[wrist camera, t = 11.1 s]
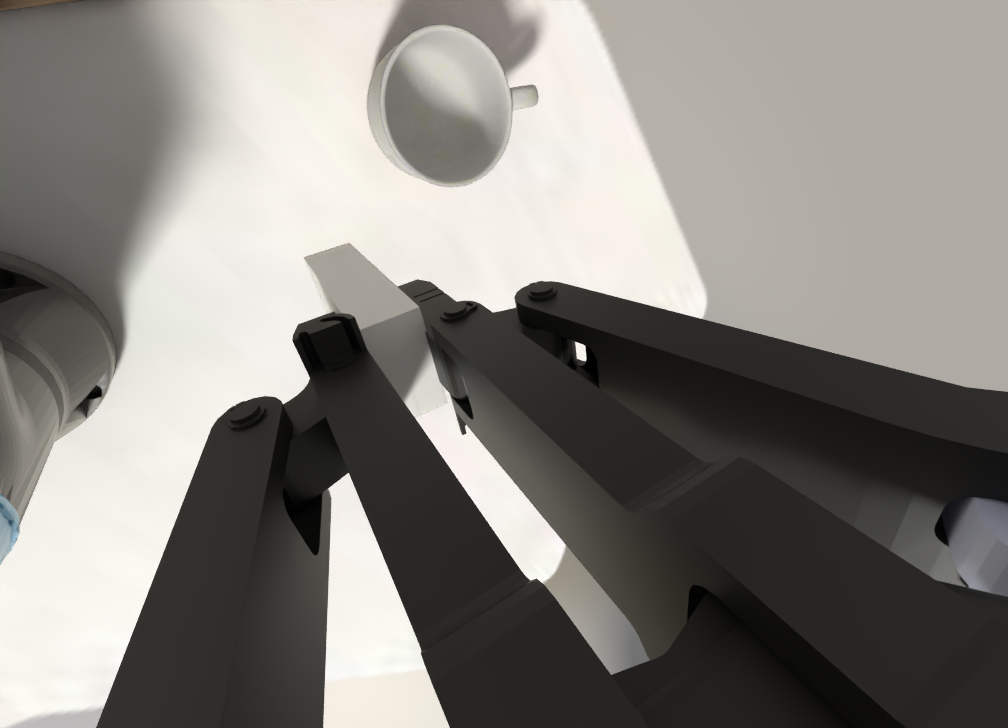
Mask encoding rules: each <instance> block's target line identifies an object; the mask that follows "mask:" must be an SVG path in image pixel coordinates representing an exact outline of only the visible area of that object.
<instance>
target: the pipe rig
mask: <svg viewBox="0 0 1008 728" xmlns="http://www.w3.org/2000/svg"><path fill="white" fill-rule="evenodd" d="M74 1H82V0H0V11H2V10H10V9H18V8H26V7H34V6H42V5H50V4H58V3H66V2H74Z"/></svg>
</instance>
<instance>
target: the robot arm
mask: <svg viewBox="0 0 1008 728" xmlns="http://www.w3.org/2000/svg"><path fill="white" fill-rule="evenodd" d="M304 260H305V262H306V264H307V267H308V269H309V272H310V274H311V276H312V279H313V281H314V284H315V286H316V288H317V291H318V293H319V296H320V298H321V300H322V303H323V305H324V308H325V310H326V312H327V314H326V315H323V316H320V317H318V318H315V319H312V320H309V321H307V322H304V323H301V324H298V326H297V328H296V330H295V332H294V335H293V340H292V341H293V343H294V345H295V347H296V349H297V351H298V353H299V355H300V358H301V360H302V362H303V364H304V366H305V368H306V370H307V372H308V374H309V377H310V380H309V383H308V384H307V386H306V387H305V389H304V390H303V391H301V392H300V393H299V394H298V395H297V396H296V397H294V398H293V399H291V400H290V401H288V402H287V403H285V404H282V402H281V401H280V400H279V399H277V398H276V397H268V396H264V397H259V398H253V399H250V400H248V401H243V402H241V403H239V404H236V406H233V407H231V408H230V409H228V410H227V412H225V413H224V414H223V415H222V416H221V417H220V418H218V419H217V421H216V422H215V424H214V425H213V427H212V428H211V431H210V434H209V436H208V439H207V441H206V444H205V447H204V449H203V452H202V454H201V457H200V460H199V462H198V465H197V467H196V470H195V473H194V475H193V478H192V480H191V483H190V486H189V488H188V491H187V493H186V496H185V499H184V501H183V504H182V506H181V509H180V512H179V514H178V517H177V519H176V522H175V525H174V527H173V530H172V532H171V535H170V538H169V540H168V543H167V545H166V548H165V550H164V553H163V556H162V558H161V561H160V563H159V566H158V569H157V571H156V574H155V576H154V579H153V582H152V584H151V587H150V589H149V592H148V595H147V597H146V600H145V602H144V605H143V608H142V610H141V613H140V615H139V618H138V621H137V623H136V626H135V628H134V631H133V634H132V636H131V639H130V641H129V644H128V647H127V649H126V652H125V654H124V657H123V660H122V662H121V665H120V667H119V670H118V673H117V675H116V678H115V680H114V683H113V686H112V688H111V691H110V693H109V696H108V699H107V701H106V704H105V706H104V709H103V712H102V714H101V717H100V719H99V722H98V725H97V727H96V728H323V715H324V686H325V660H326V632H327V605H328V577H329V550H330V522H331V496H330V492H329V490H328V488H329V487H331V486H332V485H333V484H334V483H336V482H337V481H338V480H340V479H341V478H342V477H343V476H345V475H346V474H347V473H349V474H350V477H351V479H352V481H353V484H354V486H355V489H356V491H357V494H358V496H359V499H360V501H361V503H362V506H363V508H364V511H365V513H366V516H367V518H368V520H369V523H370V525H371V528H372V530H373V533H374V535H375V537H376V540H377V542H378V545H379V547H380V550H381V552H382V554H383V557H384V559H385V562H386V564H387V567H388V569H389V572H390V574H391V576H392V579H393V581H394V584H395V586H396V589H397V591H398V593H399V596H400V598H401V601H402V603H403V606H404V608H405V610H406V613H407V615H408V618H409V620H410V623H411V625H412V628H413V630H414V632H415V635H416V637H417V640H418V642H419V645H420V648H421V651H422V652H421V655H422V658H423V661H424V664H425V667H426V669H427V672H428V674H429V676H430V679H431V682H432V684H433V687H434V689H435V692H436V694H437V697H438V699H439V702H440V704H441V707H442V709H443V711H444V714H445V717H446V719H447V722H448V724H449V726H450V728H1008V392H1003V391H994V390H984V389H976V388H967V387H963V386H959V385H955V384H951V383H947V382H944V381H940V380H936V379H932V378H928V377H924V376H920V375H916V374H913V373H909V372H905V371H901V370H896V369H893V368H889V367H885V366H882V365H877V364H874V363H870V362H866V361H862V360H858V359H854V358H851V357H846V356H843V355H839V354H835V353H831V352H827V351H823V350H820V349H816V348H812V347H808V346H804V345H800V344H796V343H792V342H789V341H784V340H781V339H777V338H773V337H769V336H765V335H761V334H757V333H754V332H750V331H746V330H742V329H738V328H734V327H730V326H726V325H723V324H719V323H715V322H711V321H707V320H703V319H699V318H696V317H692V316H688V315H684V314H680V313H676V312H672V311H668V310H665V309H661V308H657V307H653V306H649V305H645V304H641V303H637V302H634V301H630V300H626V299H622V298H618V297H614V296H610V295H606V294H603V293H599V292H595V291H591V290H587V289H583V288H579V287H575V286H572V285H568V284H564V283H559V282H552V281H550V282H544V281H539V282H537V283H531V284H530V285H528V286H526V287H524V288H522V289H521V290H519V291H518V292H517V293H516V295H515V303H516V308H513V309H509V310H505V311H500V312H495V313H492V312H491V311H490V310H488V309H487V308H485V307H484V306H483V305H481V304H479V303H477V302H474V301H459V302H456V301H455V300H453V299H452V298H451V297H449V296H448V295H447V294H446V293H444V292H443V291H442V290H440V289H438V287H436V286H435V285H434V284H432V283H431V282H428V281H423V280H415V281H412V282H409V283H407V284H404V285H401V286H398V287H397V286H396V285H395V284H394V283H393V282H392V281H390V280H389V279H388V278H387V277H386V276H385V275H384V274H383V273H382V272H381V271H380V270H378V269H377V268H376V267H375V266H374V265H373V264H372V263H371V262H370V261H369V260H367V259H366V258H365V257H364V256H363V255H362V254H361V253H360V252H359V251H358V250H357V249H355V248H354V247H353V246H352V245H351V244H350V243H347V244H344V245H341V246H337V247H334V248H331V249H328V250H325V251H322V252H319V253H316V254H313V255H309V256H306V257H304ZM575 342H578V343H581V344H584V345H585V346H586V356H587V359H586V362H585V361H581V360H579V359H577V356H576V346H575ZM115 365H116V348H115V342H114V338H113V335H112V332H111V330H110V328H109V325H108V324H107V322H106V320H105V318H104V317H103V315H102V314H101V312H100V311H99V310H98V308H97V307H96V306H95V305H94V304H93V302H92V301H91V300H90V299H89V298H88V297H87V296H86V295H85V294H83V293H82V292H81V291H80V290H79V289H78V288H76V287H75V286H74V285H72V284H71V283H70V282H68V281H67V280H65V279H64V278H62V277H60V276H59V275H57V274H55V273H54V272H52V271H50V270H48V269H46V268H44V267H42V266H39V265H37V264H35V263H33V262H30V261H27V260H25V259H22V258H19V257H16V256H13V255H9V254H6V253H2V252H0V564H1V563H2V561H3V560H4V558H5V557H6V555H7V554H8V553H9V552H10V551H11V549H12V547H13V545H14V544H15V543H16V541H17V537H18V535H19V533H20V529H19V525H20V523H21V521H22V518H23V516H24V513H25V511H26V509H27V506H28V504H29V501H30V499H31V497H32V494H33V492H34V489H35V487H36V485H37V482H38V480H39V477H40V475H41V473H42V470H43V468H44V465H45V463H46V461H47V458H48V456H49V453H50V451H51V449H52V446H53V444H54V442H55V441H57V440H58V439H60V438H61V437H63V436H64V435H66V434H67V433H69V432H70V431H72V430H73V429H75V428H76V427H78V426H79V425H80V424H82V423H83V422H84V421H85V420H86V419H87V418H88V417H89V416H90V415H91V414H92V413H93V412H94V411H95V410H96V409H97V407H98V406H99V405H100V403H101V402H102V400H103V399H104V397H105V395H106V393H107V391H108V389H109V386H110V383H111V380H112V377H113V374H114V370H115ZM443 386H444V387H445V389H446V390H447V391H448V392H449V393H450V396H451V399H452V403H453V406H454V409H455V413H456V416H457V420H458V423H459V427H460V430H461V433H462V435H464V434H466V430H465V425H467V426H468V427H469V428H470V430H471V431H472V432H473V433H474V434H475V436H476V437H477V438H478V439H479V440H480V442H481V443H482V444H483V445H484V446H485V448H486V449H487V450H488V451H489V452H490V454H491V455H492V456H493V457H494V458H495V460H496V461H497V462H498V463H499V464H500V466H501V467H502V468H503V469H504V471H505V472H506V473H507V474H508V475H509V477H510V478H511V479H512V480H513V481H514V483H515V484H516V485H517V486H518V487H519V489H520V490H521V491H522V492H523V493H524V495H525V496H526V497H527V498H528V499H529V501H530V502H531V503H532V504H533V505H534V507H535V508H536V509H537V510H538V511H539V513H540V514H541V515H542V516H543V518H544V519H545V520H546V521H547V522H548V524H549V525H550V526H551V527H552V528H553V530H554V531H555V532H556V533H557V534H558V536H559V537H560V538H561V539H562V540H563V542H564V543H565V544H566V545H567V546H568V548H569V549H570V550H571V551H572V552H573V554H574V555H575V556H576V557H577V558H578V560H579V561H580V562H581V563H582V564H583V566H584V567H585V568H586V569H587V571H588V572H589V573H590V574H591V575H592V576H593V578H594V579H595V580H596V581H597V583H598V584H599V585H600V586H601V587H602V589H603V590H604V591H605V592H606V593H607V595H608V596H609V597H610V598H611V599H612V601H613V602H614V603H615V604H616V605H617V607H618V608H619V609H620V610H621V611H622V613H623V614H624V615H625V616H626V618H627V619H628V620H629V621H630V623H631V624H632V626H633V627H634V629H635V630H636V632H637V634H638V636H639V638H640V640H641V642H642V645H643V647H644V649H645V651H646V654H647V656H648V657H649V659H650V661H647V662H645V663H642V664H639V665H637V666H634V667H632V668H629V669H626V670H623V671H621V672H618V673H616V674H613V675H611V674H610V673H609V672H608V670H607V669H606V668H605V666H604V665H603V663H602V662H601V661H600V659H599V658H598V657H597V655H596V654H595V652H594V651H593V650H592V648H591V647H590V646H589V644H588V643H587V641H586V640H585V639H584V637H583V636H582V634H581V633H580V632H579V630H578V629H577V628H576V626H575V625H574V624H573V622H572V621H571V619H570V618H569V617H568V615H567V614H566V612H565V611H564V610H563V608H562V607H561V606H560V604H559V603H558V601H557V600H556V599H555V597H554V596H553V595H552V594H551V593H550V591H549V590H548V589H547V588H546V586H545V585H544V584H542V583H541V582H540V581H539V580H537V579H534V580H531V581H530V580H529V579H528V578H527V577H526V576H525V575H524V574H523V572H522V571H521V570H520V568H519V567H518V565H517V564H516V563H515V561H514V560H513V558H512V557H511V555H510V554H509V553H508V551H507V550H506V548H505V547H504V545H503V544H502V542H501V541H500V540H499V538H498V537H497V535H496V534H495V532H494V531H493V530H492V528H491V527H490V525H489V524H488V522H487V521H486V519H485V518H484V517H483V515H482V514H481V512H480V511H479V509H478V508H477V507H476V505H475V504H474V502H473V501H472V499H471V498H470V496H469V495H468V494H467V492H466V491H465V489H464V488H463V486H462V485H461V484H460V482H459V481H458V479H457V478H456V476H455V475H454V473H453V472H452V471H451V469H450V468H449V466H448V465H447V463H446V462H445V461H444V459H443V458H442V456H441V455H440V453H439V452H438V450H437V449H436V448H435V446H434V445H433V443H432V442H431V440H430V439H429V438H428V436H427V435H426V433H425V432H424V430H423V429H422V427H421V426H420V425H419V423H418V422H417V420H416V419H415V418H416V417H418V416H420V415H422V414H425V413H427V412H429V411H431V410H433V409H435V408H437V407H440V406H442V405H444V404H446V403H448V402H447V399H446V395H445V392H444V388H443Z"/></svg>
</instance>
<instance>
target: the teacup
mask: <svg viewBox="0 0 1008 728" xmlns="http://www.w3.org/2000/svg"><path fill="white" fill-rule="evenodd" d="M537 102H538V92H537V89H536V86H534V85H527V86H519V87H513V88H509V85H508V81H507V78H506V76H505V73H504V71H503V68H502V66H501V64H500V62H499V61H498V59H497V57H496V56H495V54H494V53H493V52H492V51H491V49H490V48H489V47H488V46H487V45H486V44H485V43H484V42H483V41H482V40H481V39H480V38H478V37H477V36H475V35H474V34H473V33H471V32H469V31H467V30H465V29H462V28H459V27H456V26H452V25H445V24H434V25H429V26H425V27H423V28H420V29H418V30H416V31H414V32H412V33H411V34H409V35H408V36H407V37H406V38H404V39H403V40H402V41H401V42H400V43H399V44H398V45H396V46H395V47H394V48H393V49H391V50H390V51H389V52H388V53H387V54H386V55H385V56H384V57H383V59H382V60H381V61H380V62H379V64H378V65H377V67H376V69H375V71H374V73H373V75H372V78H371V81H370V84H369V89H368V94H367V114H368V120H369V124H370V128H371V131H372V134H373V136H374V139H375V141H376V143H377V144H378V146H379V148H380V149H381V151H382V152H383V154H384V155H385V156H386V157H387V158H388V159H389V161H390V162H392V163H393V164H394V165H395V166H396V167H397V168H399V169H400V170H402V171H403V172H405V173H407V174H409V175H411V176H413V177H415V178H418V179H421V180H424V181H427V182H429V183H432V184H435V185H438V186H444V187H459V186H465V185H468V184H471V183H473V182H475V181H477V180H479V179H481V178H482V177H483V176H485V175H486V174H488V173H489V172H490V171H491V170H492V169H493V168H494V167H495V165H496V164H497V163H498V161H499V160H500V159H501V157H502V155H503V153H504V151H505V149H506V146H507V144H508V141H509V137H510V132H511V125H512V110H517V109H523V108H529V107H533V106H535V105H536V104H537Z"/></svg>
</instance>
